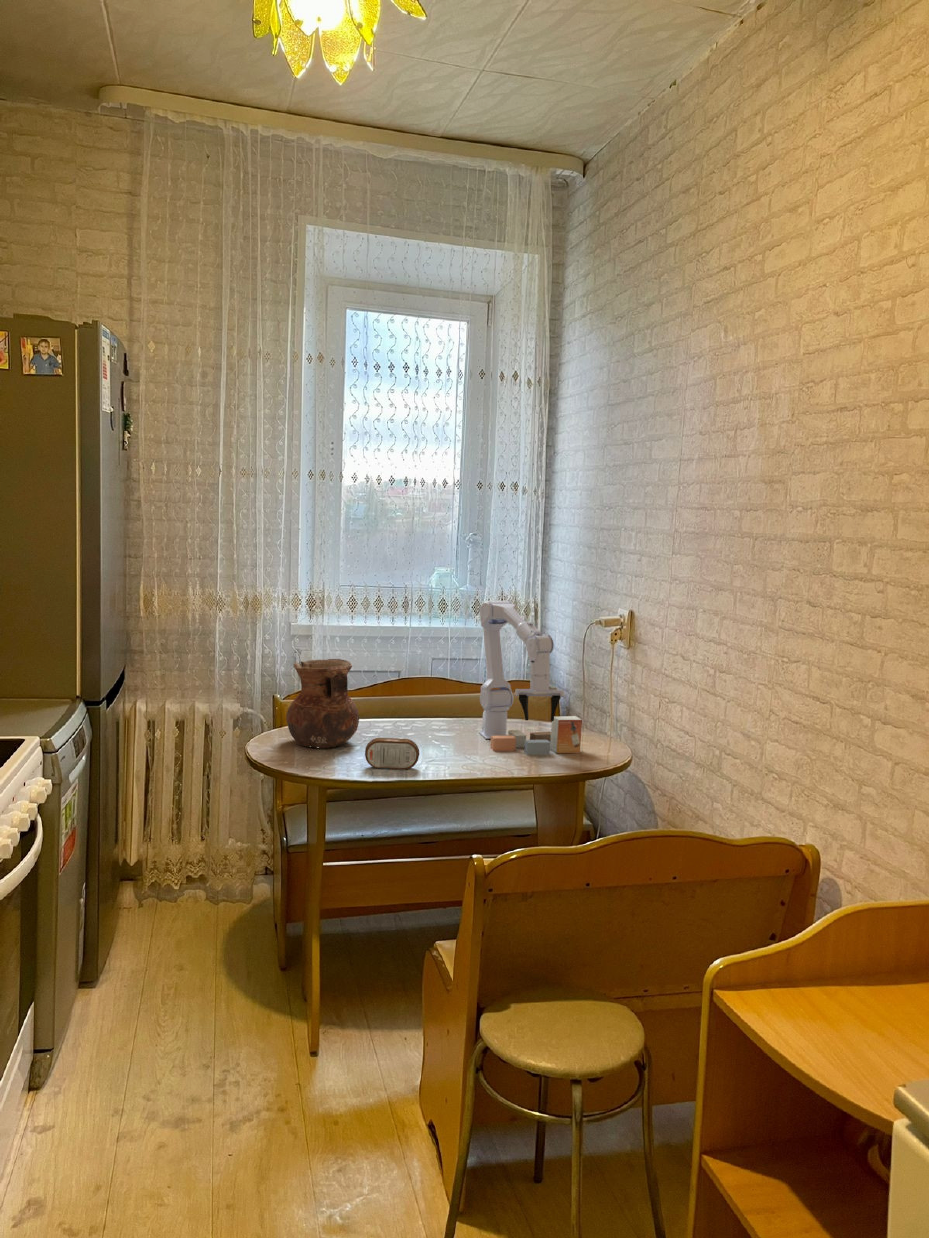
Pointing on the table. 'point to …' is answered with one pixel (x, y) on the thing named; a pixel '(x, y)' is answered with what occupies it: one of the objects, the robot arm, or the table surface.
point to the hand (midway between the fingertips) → (539, 720)
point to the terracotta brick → (503, 743)
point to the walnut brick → (540, 736)
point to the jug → (323, 705)
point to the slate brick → (537, 747)
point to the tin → (392, 753)
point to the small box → (566, 734)
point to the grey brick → (518, 738)
